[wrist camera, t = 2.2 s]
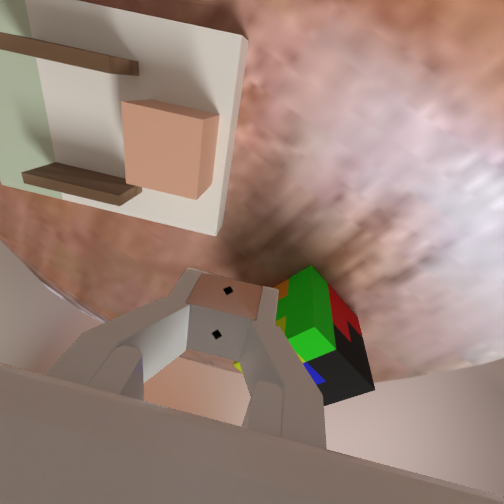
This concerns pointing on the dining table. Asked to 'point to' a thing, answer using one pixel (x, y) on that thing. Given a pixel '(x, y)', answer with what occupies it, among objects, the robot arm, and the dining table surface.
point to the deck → (114, 99)
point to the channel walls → (62, 174)
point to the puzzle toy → (323, 336)
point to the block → (169, 147)
